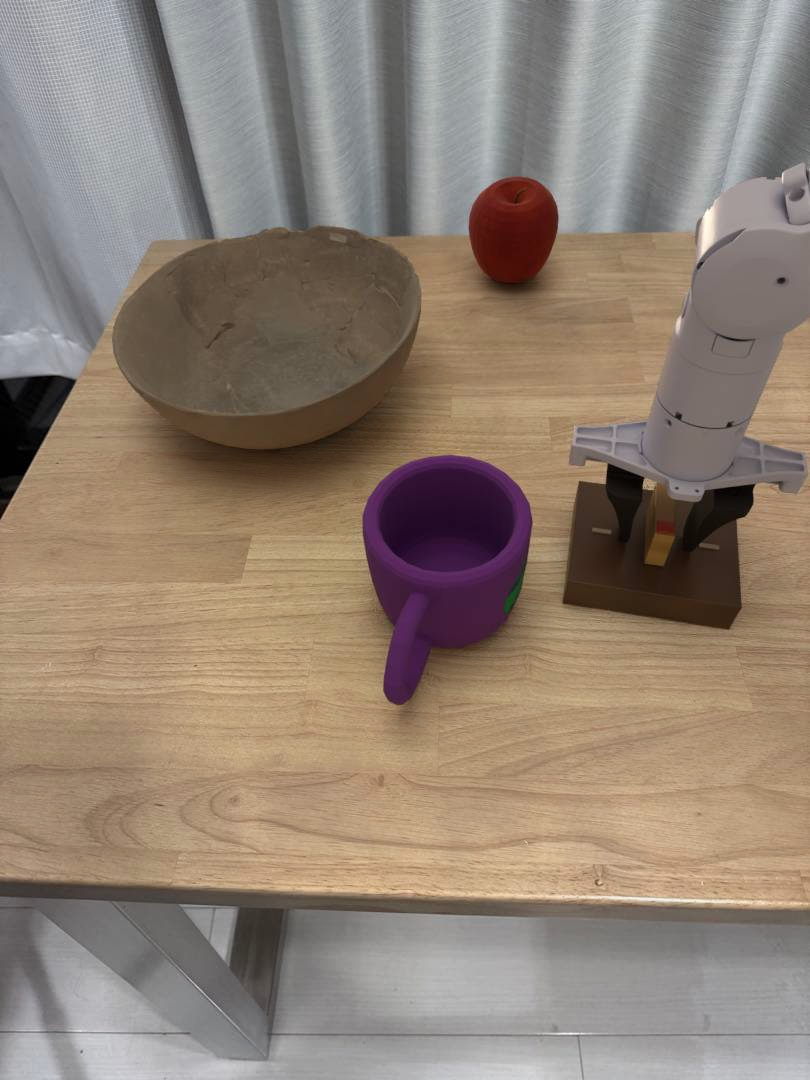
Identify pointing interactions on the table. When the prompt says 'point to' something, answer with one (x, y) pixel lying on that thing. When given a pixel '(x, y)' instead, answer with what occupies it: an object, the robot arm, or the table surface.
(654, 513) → the block with red patch
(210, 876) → the table surface
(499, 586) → the mug
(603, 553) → the lock plate
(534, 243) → the apple
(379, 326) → the bowl
